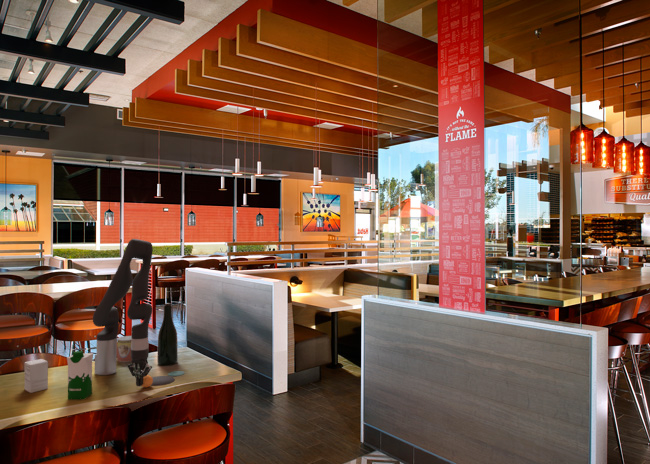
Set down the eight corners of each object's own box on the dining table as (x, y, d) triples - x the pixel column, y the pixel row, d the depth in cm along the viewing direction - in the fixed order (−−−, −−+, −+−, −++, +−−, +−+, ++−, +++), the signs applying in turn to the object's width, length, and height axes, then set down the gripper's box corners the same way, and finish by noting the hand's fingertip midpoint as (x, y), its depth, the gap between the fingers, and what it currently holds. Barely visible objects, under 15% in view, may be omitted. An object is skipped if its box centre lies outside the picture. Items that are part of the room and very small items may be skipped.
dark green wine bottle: (161, 360, 254) (162, 301, 254) (180, 360, 253) (180, 301, 253) (154, 366, 243) (154, 304, 243) (173, 366, 243) (173, 304, 243)
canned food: (113, 361, 251) (113, 340, 251) (123, 356, 262) (123, 335, 262) (133, 362, 251) (133, 340, 251) (142, 356, 262) (142, 335, 262)
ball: (140, 373, 208) (149, 371, 213) (135, 384, 209) (145, 381, 214) (147, 380, 206) (157, 378, 211) (143, 391, 207) (152, 388, 212)
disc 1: (138, 385, 213) (138, 384, 213) (153, 375, 227) (153, 375, 227) (166, 386, 211) (166, 385, 211) (179, 376, 225) (179, 376, 225)
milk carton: (64, 400, 193) (64, 353, 193) (75, 393, 202) (75, 348, 202) (85, 400, 193) (85, 353, 193) (95, 392, 202) (95, 347, 202)
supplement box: (42, 385, 212) (42, 358, 212) (48, 388, 207) (48, 361, 207) (23, 389, 206) (24, 361, 206) (29, 393, 201) (30, 364, 201)
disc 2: (165, 375, 226) (165, 375, 226) (172, 371, 234) (172, 370, 234) (180, 376, 225) (180, 376, 225) (187, 371, 233) (187, 371, 233)
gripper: (157, 347, 208) (156, 385, 207) (135, 344, 213) (134, 381, 213) (144, 350, 201) (144, 390, 200) (122, 348, 206) (122, 386, 206)
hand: (139, 385), depth 206 cm, fingers closed
